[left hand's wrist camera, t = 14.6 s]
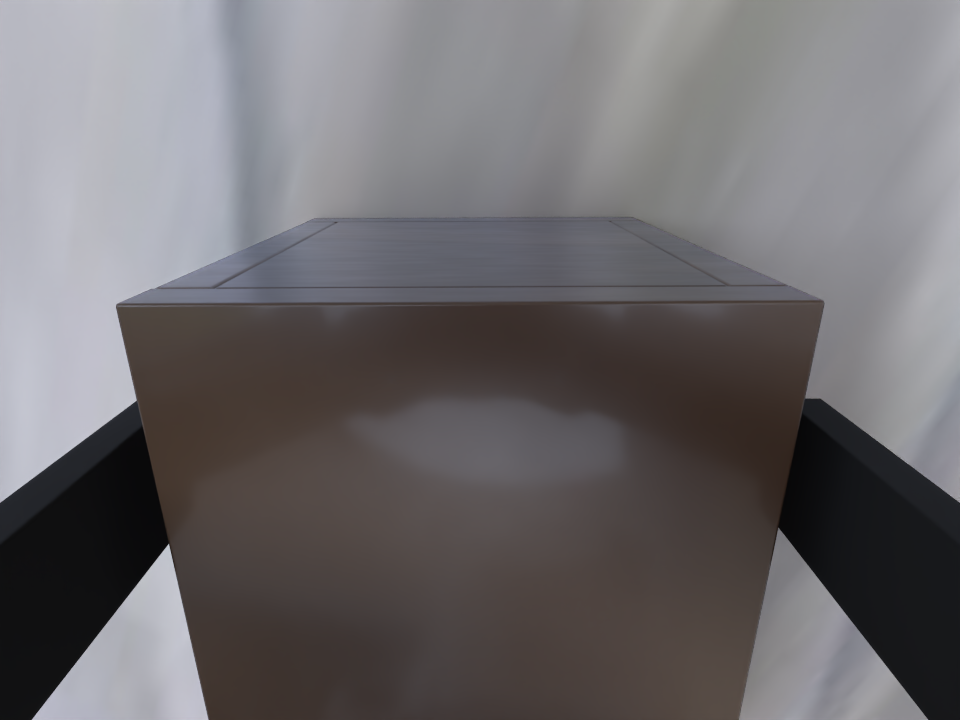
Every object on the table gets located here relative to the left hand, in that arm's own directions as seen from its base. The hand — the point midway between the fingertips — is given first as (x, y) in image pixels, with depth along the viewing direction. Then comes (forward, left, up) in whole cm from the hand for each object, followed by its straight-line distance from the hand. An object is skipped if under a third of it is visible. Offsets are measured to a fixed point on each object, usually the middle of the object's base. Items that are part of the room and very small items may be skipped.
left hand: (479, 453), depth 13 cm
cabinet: (0, +5, -7) cm, 9 cm away
